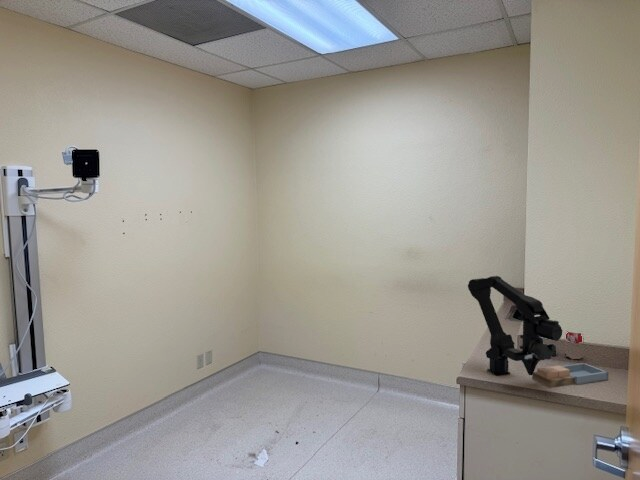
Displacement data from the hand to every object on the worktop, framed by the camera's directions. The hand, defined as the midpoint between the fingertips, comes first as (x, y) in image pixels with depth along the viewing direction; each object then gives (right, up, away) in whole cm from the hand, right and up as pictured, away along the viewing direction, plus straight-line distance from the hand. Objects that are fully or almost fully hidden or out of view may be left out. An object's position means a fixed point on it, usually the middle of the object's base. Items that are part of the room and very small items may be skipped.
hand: (530, 375), depth 164 cm
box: (+23, -3, +7) cm, 24 cm away
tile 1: (+8, -1, +2) cm, 8 cm away
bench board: (+10, -3, +3) cm, 11 cm away
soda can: (+32, -2, +28) cm, 43 cm away
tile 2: (+13, -1, +4) cm, 13 cm away
